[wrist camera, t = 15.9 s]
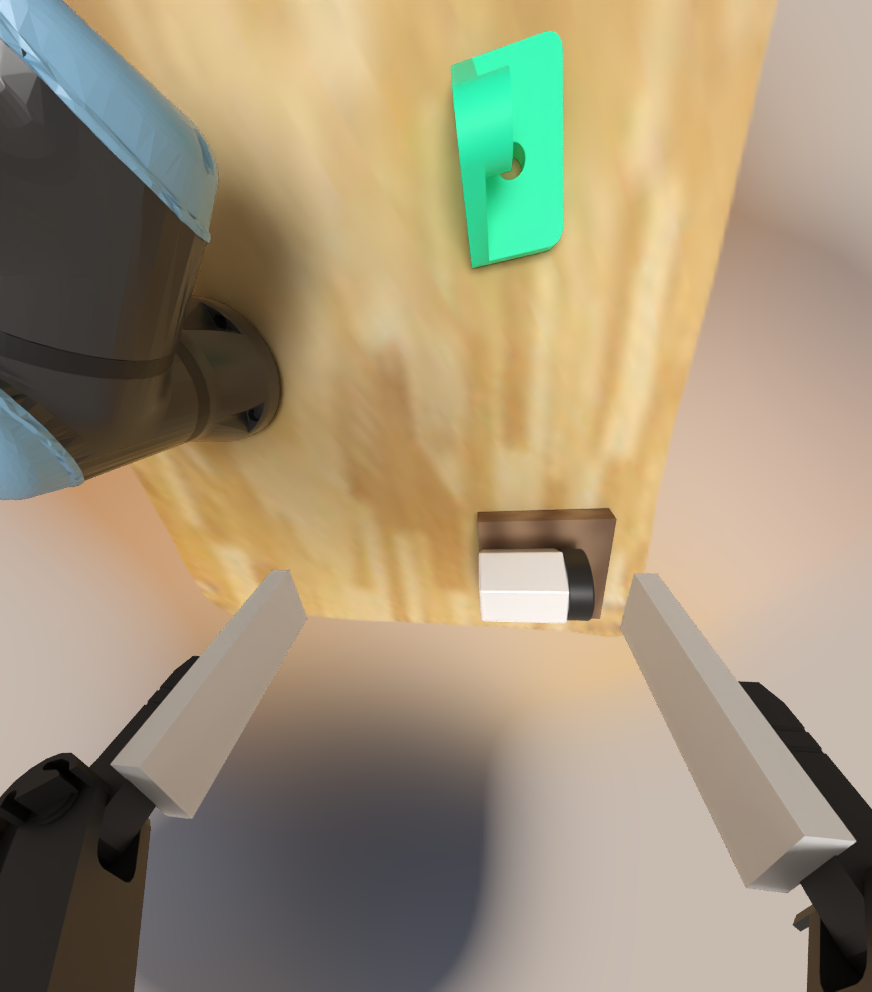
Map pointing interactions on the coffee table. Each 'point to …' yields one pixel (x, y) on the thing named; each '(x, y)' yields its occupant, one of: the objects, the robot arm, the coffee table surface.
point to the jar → (535, 585)
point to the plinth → (555, 536)
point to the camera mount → (511, 147)
